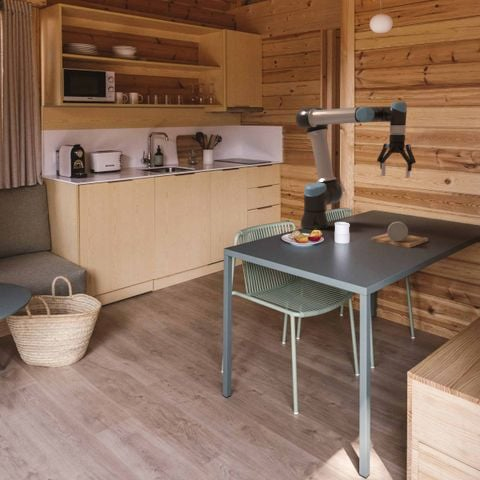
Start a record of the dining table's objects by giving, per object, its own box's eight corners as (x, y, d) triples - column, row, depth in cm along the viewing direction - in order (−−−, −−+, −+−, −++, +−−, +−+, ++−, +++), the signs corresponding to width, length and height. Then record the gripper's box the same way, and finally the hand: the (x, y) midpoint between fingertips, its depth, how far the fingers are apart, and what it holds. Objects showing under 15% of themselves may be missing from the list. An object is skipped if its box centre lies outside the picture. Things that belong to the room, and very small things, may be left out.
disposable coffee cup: (398, 244, 270) (395, 245, 259) (386, 228, 271) (382, 229, 260) (414, 232, 266) (412, 233, 255) (402, 216, 268) (399, 217, 257)
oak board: (371, 241, 268) (371, 238, 267) (390, 235, 280) (390, 232, 280) (409, 247, 254) (409, 244, 254) (427, 241, 266) (427, 238, 266)
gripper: (424, 134, 270) (421, 177, 275) (379, 133, 287) (377, 174, 292) (417, 134, 265) (414, 179, 269) (371, 133, 282) (369, 175, 287)
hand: (395, 176), depth 281 cm, fingers open, 13 cm apart
